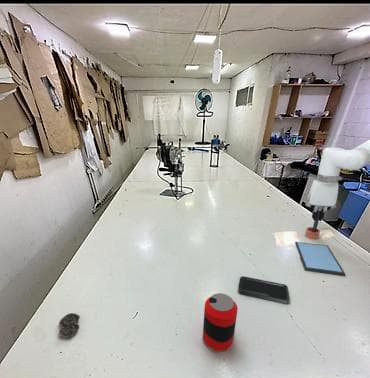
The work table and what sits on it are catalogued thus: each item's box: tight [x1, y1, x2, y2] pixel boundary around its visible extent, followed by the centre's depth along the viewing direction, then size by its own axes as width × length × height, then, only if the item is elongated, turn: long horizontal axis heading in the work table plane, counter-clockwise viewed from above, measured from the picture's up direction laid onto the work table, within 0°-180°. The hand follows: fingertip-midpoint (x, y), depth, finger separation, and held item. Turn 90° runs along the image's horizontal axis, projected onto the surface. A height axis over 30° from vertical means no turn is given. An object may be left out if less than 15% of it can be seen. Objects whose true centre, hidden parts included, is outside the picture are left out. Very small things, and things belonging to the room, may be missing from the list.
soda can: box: [202, 292, 239, 352], centre depth 57 cm, size 8×8×12 cm
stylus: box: [312, 206, 322, 232], centre depth 104 cm, size 2×2×12 cm
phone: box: [237, 275, 290, 304], centre depth 75 cm, size 8×1×15 cm
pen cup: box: [304, 226, 321, 241], centre depth 107 cm, size 6×6×4 cm
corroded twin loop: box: [58, 312, 81, 339], centre depth 61 cm, size 5×8×1 cm, turn 23°
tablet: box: [294, 241, 346, 277], centre depth 93 cm, size 13×20×1 cm, turn 166°
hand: (316, 219), depth 104 cm, fingers closed on stylus, 1 cm apart
